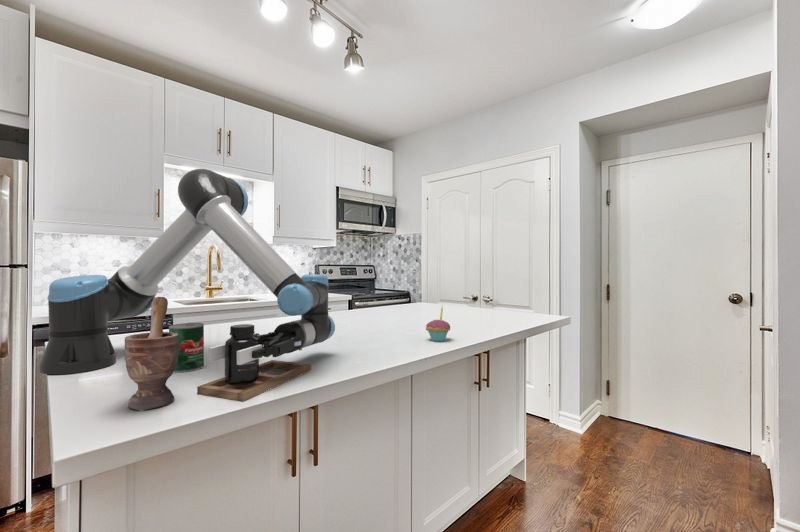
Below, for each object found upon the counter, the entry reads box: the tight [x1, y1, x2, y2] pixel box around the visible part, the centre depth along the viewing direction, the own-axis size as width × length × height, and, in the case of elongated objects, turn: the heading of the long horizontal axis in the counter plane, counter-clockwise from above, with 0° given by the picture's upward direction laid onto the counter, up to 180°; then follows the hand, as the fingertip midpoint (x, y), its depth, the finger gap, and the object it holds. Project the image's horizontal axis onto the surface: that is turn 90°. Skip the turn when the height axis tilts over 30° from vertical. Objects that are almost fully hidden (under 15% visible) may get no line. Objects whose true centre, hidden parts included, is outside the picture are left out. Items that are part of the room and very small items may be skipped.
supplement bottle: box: [224, 323, 260, 386], centre depth 82 cm, size 7×7×12 cm
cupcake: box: [425, 305, 451, 342], centre depth 133 cm, size 9×8×12 cm
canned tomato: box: [168, 322, 205, 373], centre depth 98 cm, size 8×8×11 cm
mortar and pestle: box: [124, 296, 179, 412], centre depth 74 cm, size 12×9×20 cm
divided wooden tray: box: [196, 359, 312, 402], centre depth 87 cm, size 12×23×2 cm, turn 159°
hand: (223, 356), depth 77 cm, fingers closed on supplement bottle, 7 cm apart
